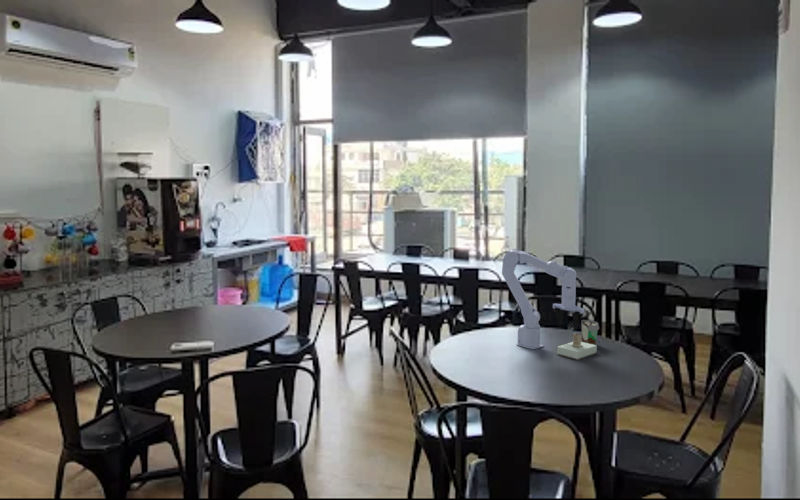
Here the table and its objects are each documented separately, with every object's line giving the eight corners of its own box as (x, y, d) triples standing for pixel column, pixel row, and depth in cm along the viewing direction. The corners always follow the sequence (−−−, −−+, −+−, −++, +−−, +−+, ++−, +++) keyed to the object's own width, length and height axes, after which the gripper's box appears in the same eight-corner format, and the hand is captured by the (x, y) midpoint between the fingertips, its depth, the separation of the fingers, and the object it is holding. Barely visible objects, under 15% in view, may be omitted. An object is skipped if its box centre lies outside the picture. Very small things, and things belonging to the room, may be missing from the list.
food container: (602, 348, 276) (603, 326, 275) (588, 348, 276) (588, 326, 275) (594, 341, 288) (594, 319, 287) (580, 341, 288) (581, 319, 287)
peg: (571, 352, 268) (571, 334, 267) (575, 351, 270) (576, 333, 269) (577, 354, 266) (577, 335, 265) (582, 353, 268) (582, 334, 267)
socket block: (557, 354, 268) (557, 346, 267) (576, 348, 277) (576, 340, 276) (577, 359, 260) (577, 351, 260) (596, 353, 269) (596, 345, 269)
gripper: (548, 295, 275) (548, 325, 277) (578, 300, 264) (577, 331, 266) (558, 292, 280) (557, 322, 282) (587, 297, 269) (586, 328, 271)
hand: (567, 327), depth 274 cm, fingers open, 7 cm apart
